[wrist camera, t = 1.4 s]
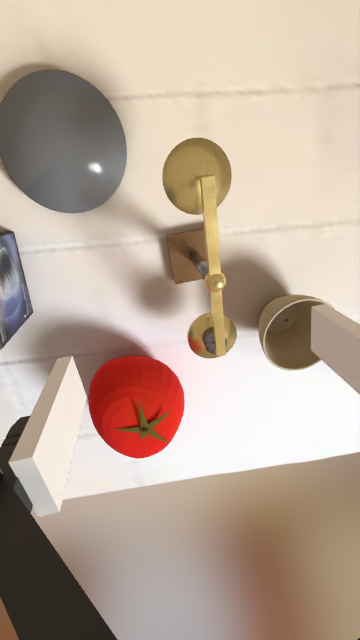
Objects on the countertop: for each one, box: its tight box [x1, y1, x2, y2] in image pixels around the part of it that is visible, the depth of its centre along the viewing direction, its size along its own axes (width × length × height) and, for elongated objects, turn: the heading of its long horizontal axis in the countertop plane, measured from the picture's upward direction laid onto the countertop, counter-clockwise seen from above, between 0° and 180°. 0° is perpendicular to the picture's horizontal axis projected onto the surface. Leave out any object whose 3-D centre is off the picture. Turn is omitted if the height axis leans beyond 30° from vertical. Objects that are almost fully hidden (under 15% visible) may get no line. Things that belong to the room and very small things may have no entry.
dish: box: [0, 70, 127, 213], centre depth 32 cm, size 13×13×1 cm
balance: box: [163, 138, 237, 358], centre depth 32 cm, size 6×24×15 cm, turn 9°
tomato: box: [88, 356, 184, 458], centre depth 40 cm, size 12×14×11 cm
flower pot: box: [259, 295, 335, 370], centre depth 41 cm, size 10×10×7 cm
